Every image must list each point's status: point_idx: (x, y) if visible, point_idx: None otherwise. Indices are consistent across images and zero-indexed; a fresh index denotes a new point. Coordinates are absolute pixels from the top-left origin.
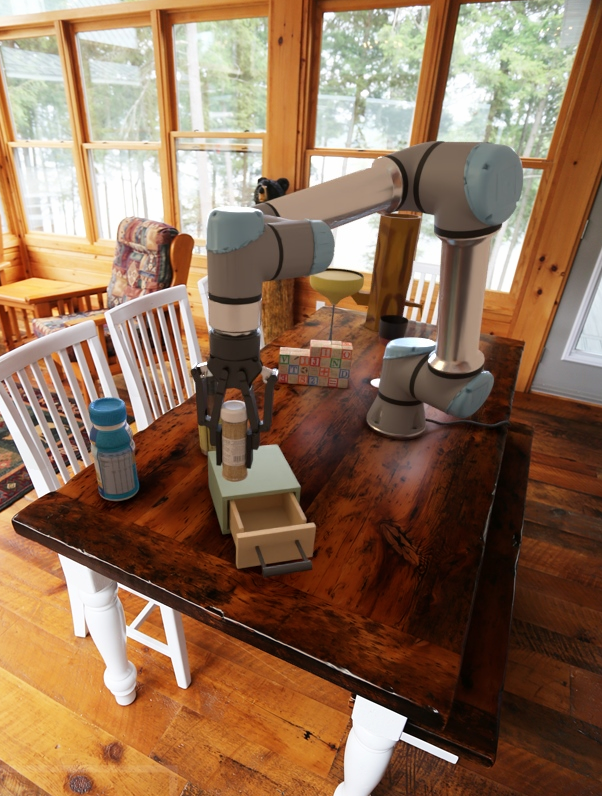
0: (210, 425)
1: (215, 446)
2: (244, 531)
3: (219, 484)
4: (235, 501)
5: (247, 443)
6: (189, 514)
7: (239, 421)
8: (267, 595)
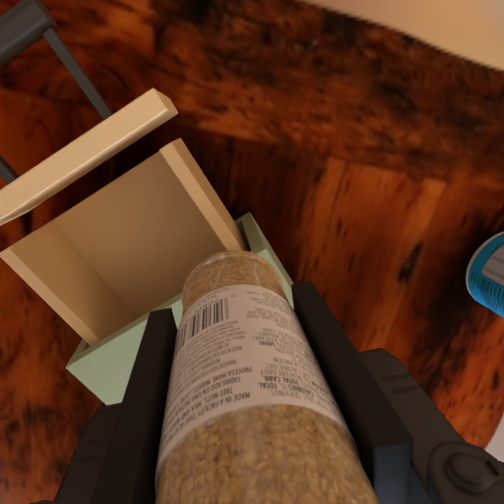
0: (499, 488)
1: None
2: (195, 216)
3: (292, 298)
4: None
5: (141, 423)
6: (339, 247)
7: None
8: (70, 43)
